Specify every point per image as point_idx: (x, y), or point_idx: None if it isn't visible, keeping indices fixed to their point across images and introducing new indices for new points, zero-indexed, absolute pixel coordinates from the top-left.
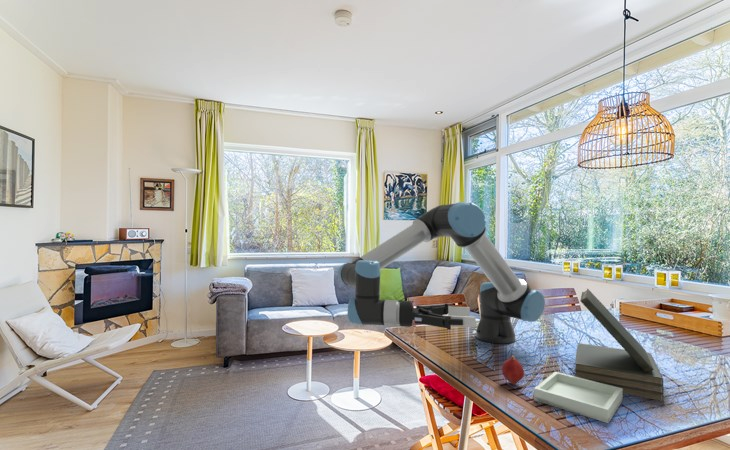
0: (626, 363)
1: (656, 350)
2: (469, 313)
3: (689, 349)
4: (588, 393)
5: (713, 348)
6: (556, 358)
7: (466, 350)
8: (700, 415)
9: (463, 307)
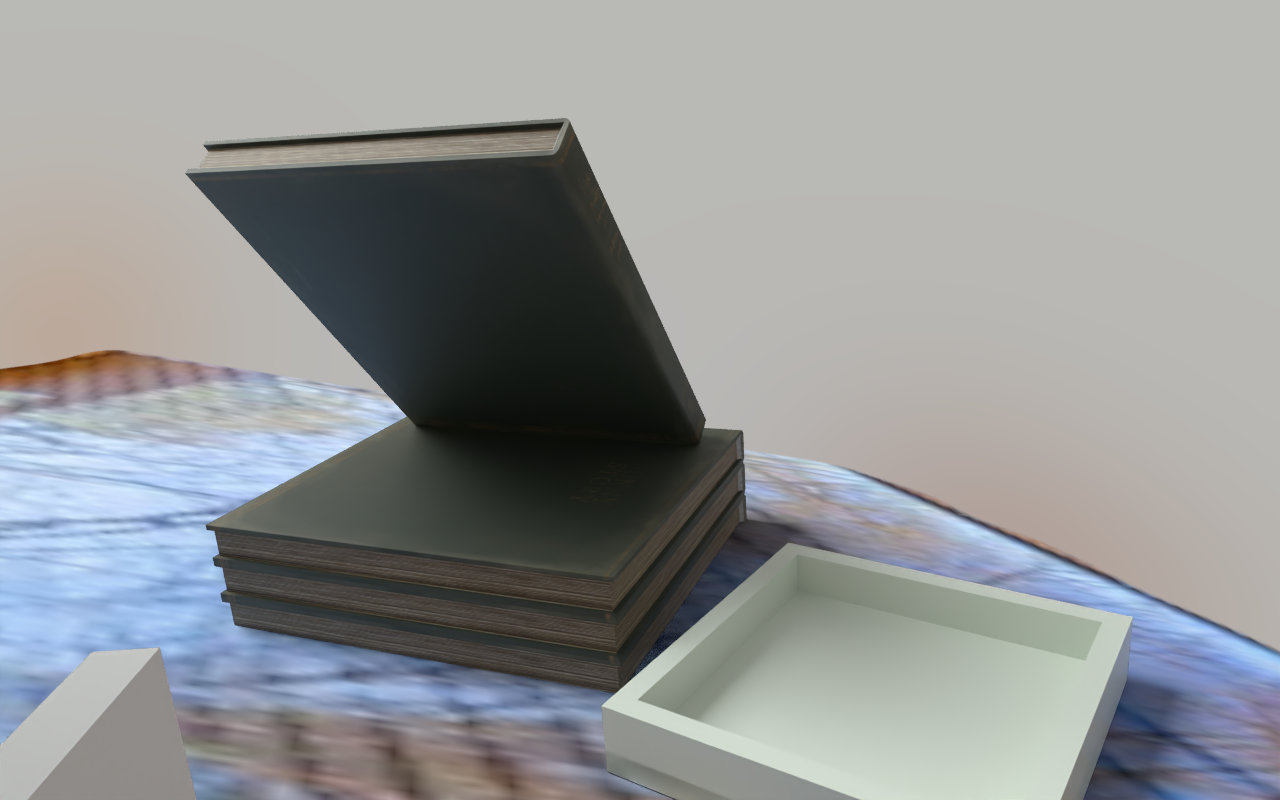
0: (574, 461)
1: (184, 441)
2: (184, 795)
3: (206, 399)
4: (810, 662)
5: (216, 375)
6: None
7: None
8: (837, 487)
9: (65, 763)
